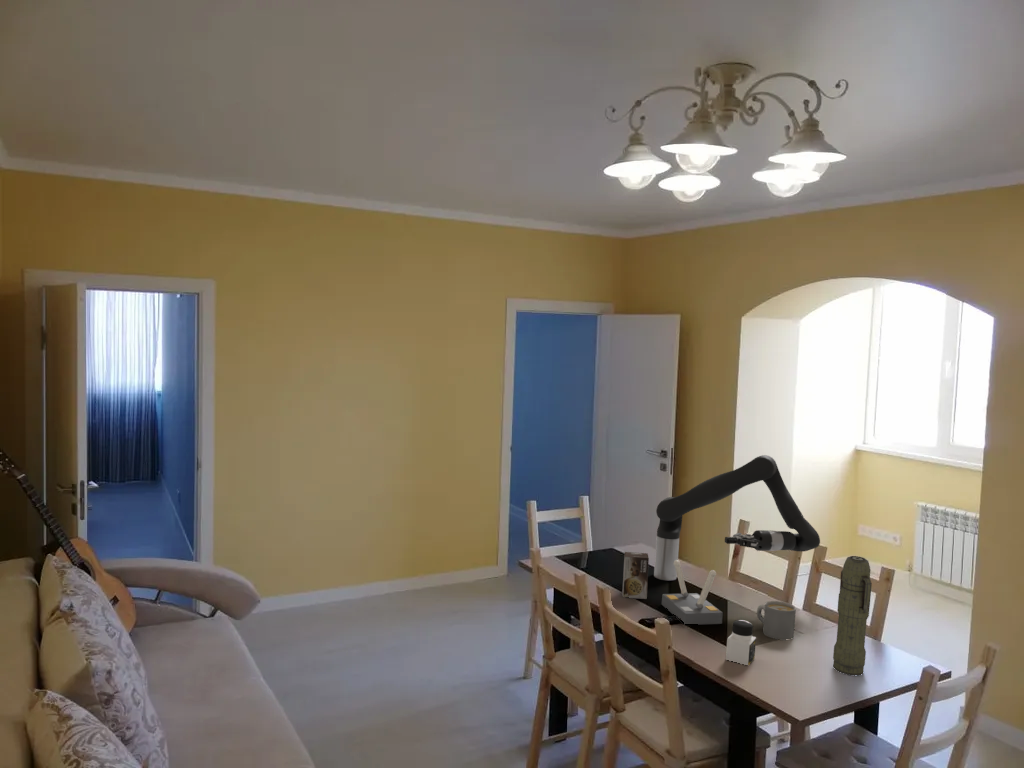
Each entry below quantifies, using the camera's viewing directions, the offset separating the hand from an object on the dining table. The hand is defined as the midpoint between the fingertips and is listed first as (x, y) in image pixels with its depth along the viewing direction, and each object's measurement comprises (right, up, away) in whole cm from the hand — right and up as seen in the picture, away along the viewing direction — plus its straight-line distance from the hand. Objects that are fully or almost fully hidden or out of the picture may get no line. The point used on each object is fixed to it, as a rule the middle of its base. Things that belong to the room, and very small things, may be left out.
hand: (725, 540), depth 287 cm
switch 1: (-16, -19, -2) cm, 25 cm away
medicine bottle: (-8, -28, -46) cm, 54 cm away
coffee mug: (+11, -28, -21) cm, 36 cm away
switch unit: (-15, -25, -8) cm, 30 cm away
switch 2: (-13, -20, -14) cm, 28 cm away
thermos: (+24, -30, -49) cm, 62 cm away
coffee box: (-33, -23, +9) cm, 41 cm away
